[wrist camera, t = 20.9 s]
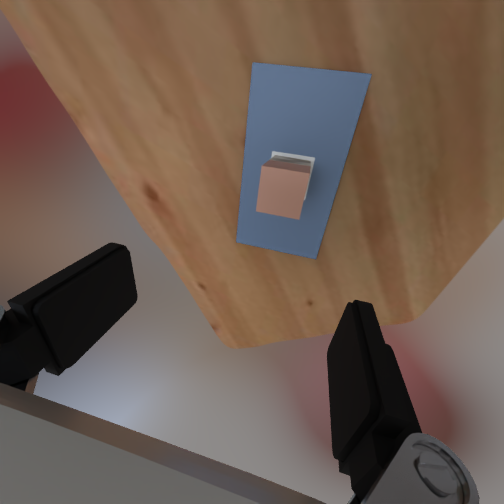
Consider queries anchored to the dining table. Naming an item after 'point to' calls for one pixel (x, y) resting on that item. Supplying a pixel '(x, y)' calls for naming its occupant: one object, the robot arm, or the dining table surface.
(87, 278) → the robot arm
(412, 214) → the dining table surface
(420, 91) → the dining table surface
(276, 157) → the cream block
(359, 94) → the board
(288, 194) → the terracotta block
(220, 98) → the dining table surface
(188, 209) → the dining table surface
